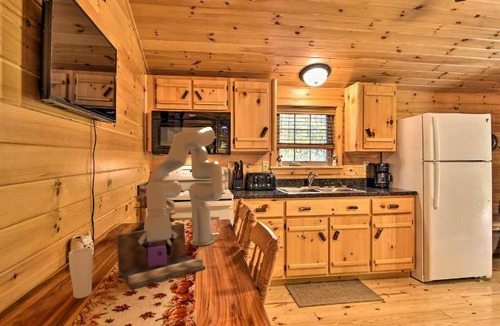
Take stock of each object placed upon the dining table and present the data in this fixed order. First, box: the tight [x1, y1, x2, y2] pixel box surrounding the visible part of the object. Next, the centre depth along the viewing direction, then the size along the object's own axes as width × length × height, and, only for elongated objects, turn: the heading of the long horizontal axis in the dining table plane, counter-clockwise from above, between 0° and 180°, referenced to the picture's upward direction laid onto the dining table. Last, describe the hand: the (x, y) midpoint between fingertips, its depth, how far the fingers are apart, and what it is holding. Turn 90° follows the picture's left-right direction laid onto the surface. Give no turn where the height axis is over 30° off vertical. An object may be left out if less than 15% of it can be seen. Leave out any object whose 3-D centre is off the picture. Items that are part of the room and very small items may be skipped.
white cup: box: [68, 247, 94, 299], centre depth 98 cm, size 7×7×15 cm
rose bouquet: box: [123, 186, 176, 232], centre depth 181 cm, size 26×29×30 cm
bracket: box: [148, 246, 167, 267], centre depth 118 cm, size 12×7×7 cm, turn 19°
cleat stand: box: [116, 222, 206, 290], centre depth 118 cm, size 28×21×15 cm
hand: (159, 256), depth 119 cm, fingers closed on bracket, 6 cm apart
